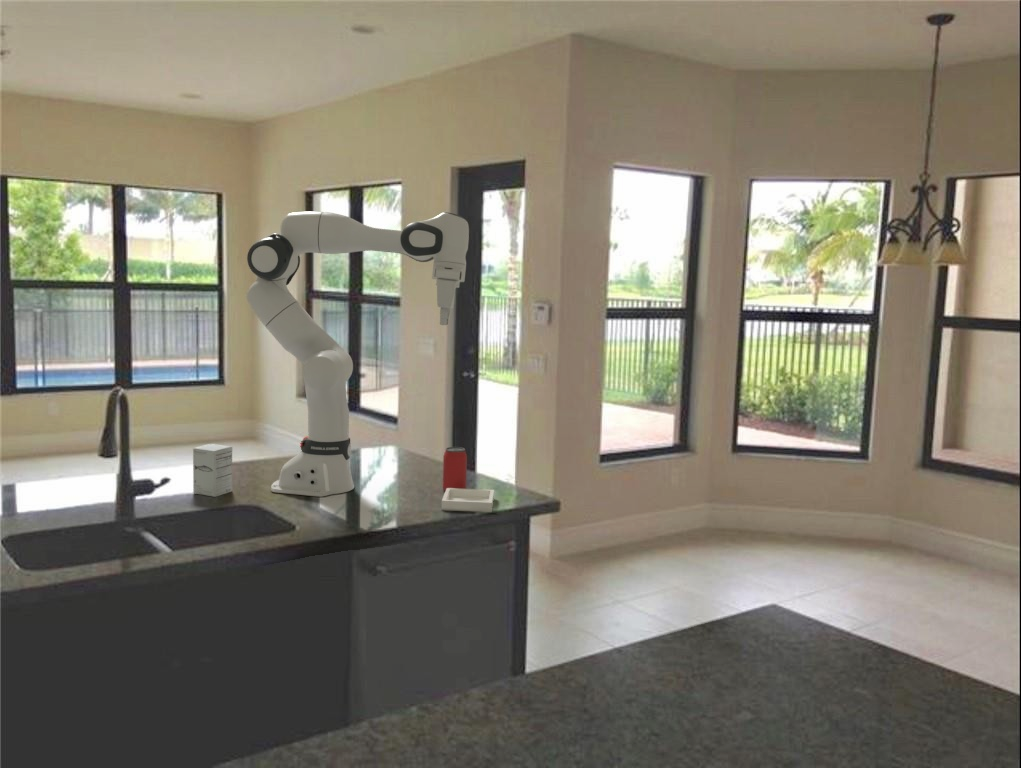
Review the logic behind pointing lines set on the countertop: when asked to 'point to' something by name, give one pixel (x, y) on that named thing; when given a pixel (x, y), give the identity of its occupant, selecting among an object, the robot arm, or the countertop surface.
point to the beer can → (454, 468)
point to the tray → (468, 500)
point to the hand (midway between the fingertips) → (443, 325)
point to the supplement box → (212, 470)
